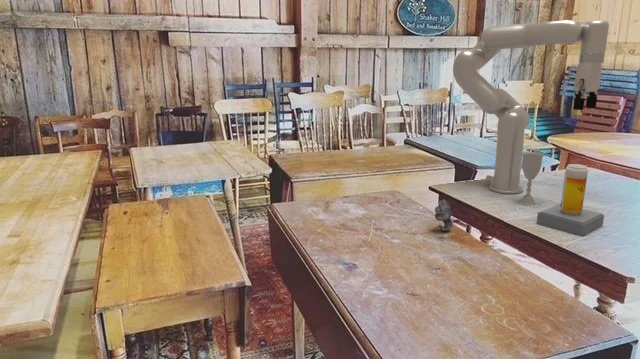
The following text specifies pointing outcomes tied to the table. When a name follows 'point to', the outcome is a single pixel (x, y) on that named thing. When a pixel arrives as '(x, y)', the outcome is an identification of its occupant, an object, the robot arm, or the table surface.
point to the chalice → (530, 172)
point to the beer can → (574, 189)
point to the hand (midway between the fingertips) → (584, 108)
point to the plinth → (570, 220)
